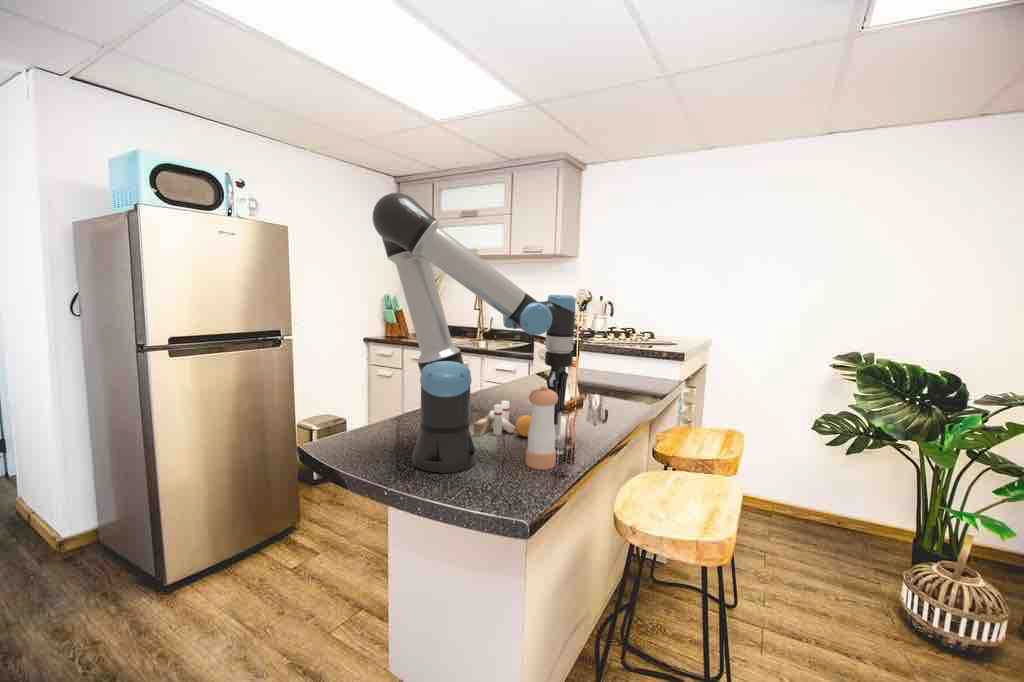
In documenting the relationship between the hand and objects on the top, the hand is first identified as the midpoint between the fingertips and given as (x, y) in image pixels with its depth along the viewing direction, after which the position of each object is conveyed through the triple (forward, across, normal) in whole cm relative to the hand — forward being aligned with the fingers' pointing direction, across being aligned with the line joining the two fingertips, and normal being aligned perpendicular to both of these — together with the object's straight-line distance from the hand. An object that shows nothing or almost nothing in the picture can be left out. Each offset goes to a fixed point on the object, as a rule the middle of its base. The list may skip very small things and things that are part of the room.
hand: (554, 434), depth 125 cm
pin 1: (+2, -2, +16) cm, 17 cm away
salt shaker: (+2, -18, -2) cm, 18 cm away
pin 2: (+2, +2, +16) cm, 17 cm away
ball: (-1, 0, +9) cm, 9 cm away
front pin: (+1, 0, +13) cm, 13 cm away
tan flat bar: (+2, 0, +21) cm, 21 cm away
